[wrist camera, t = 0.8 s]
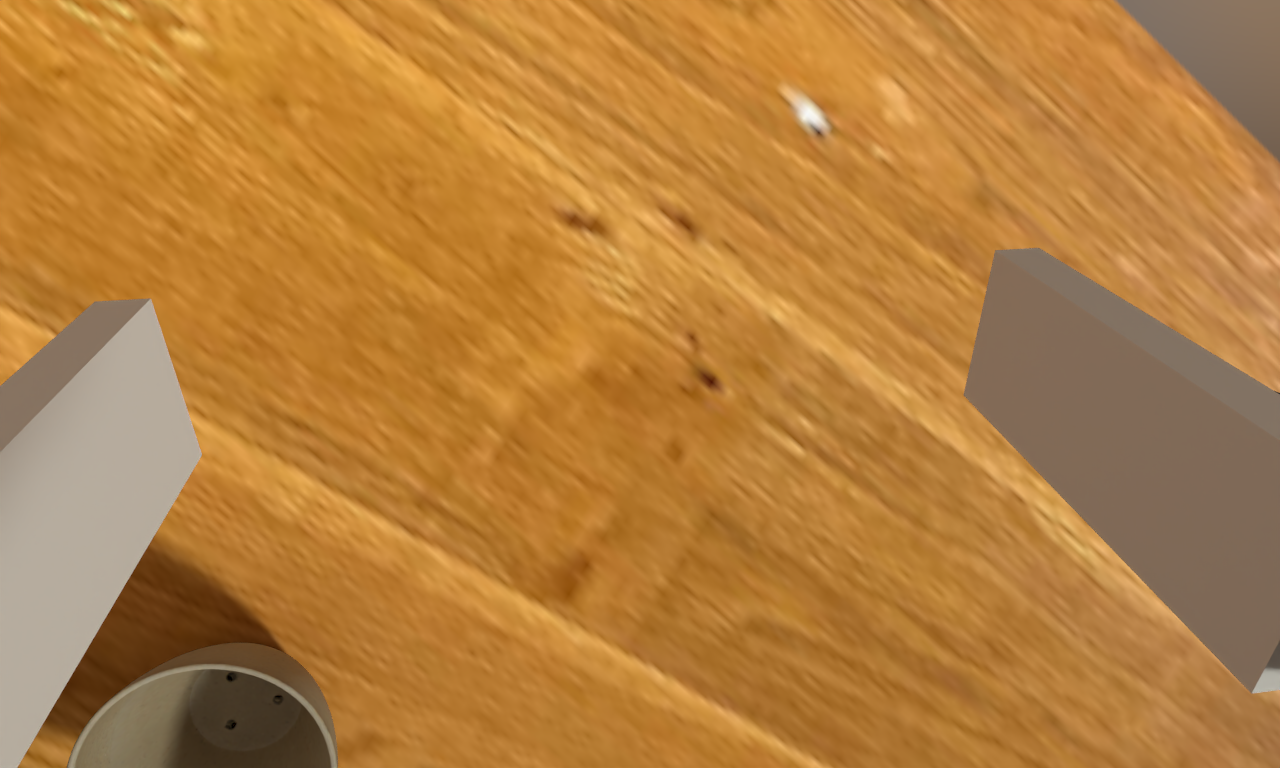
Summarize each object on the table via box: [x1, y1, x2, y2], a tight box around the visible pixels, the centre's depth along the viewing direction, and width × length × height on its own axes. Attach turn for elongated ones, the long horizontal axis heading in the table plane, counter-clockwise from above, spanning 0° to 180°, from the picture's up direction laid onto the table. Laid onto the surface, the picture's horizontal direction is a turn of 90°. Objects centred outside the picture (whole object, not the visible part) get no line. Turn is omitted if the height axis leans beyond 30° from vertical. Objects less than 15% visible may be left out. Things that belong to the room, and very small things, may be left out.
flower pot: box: [67, 643, 338, 768], centre depth 36 cm, size 10×10×7 cm
